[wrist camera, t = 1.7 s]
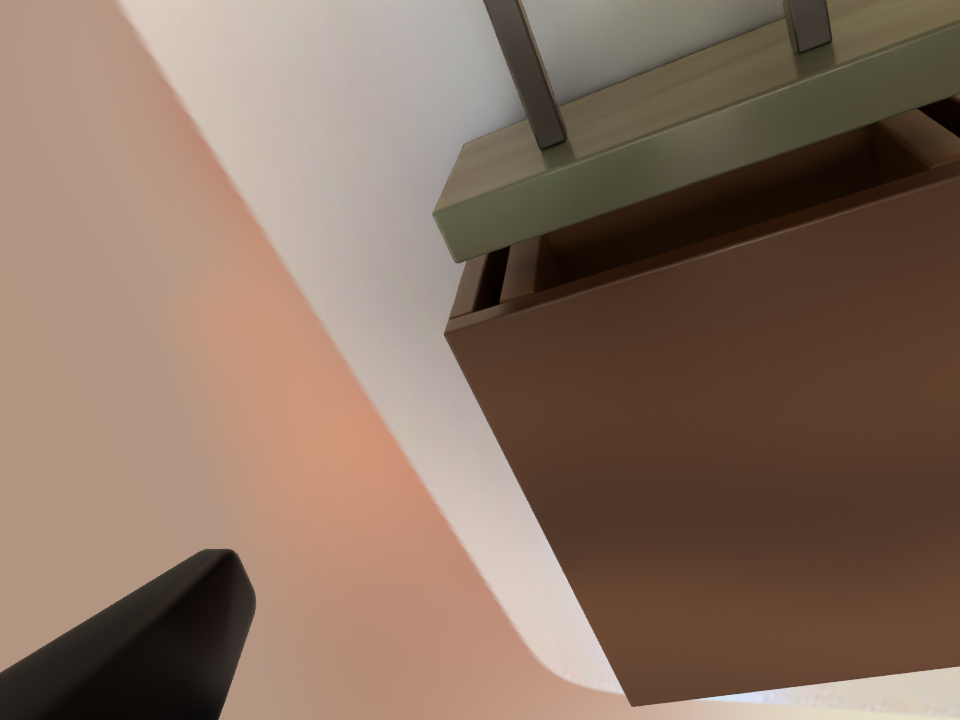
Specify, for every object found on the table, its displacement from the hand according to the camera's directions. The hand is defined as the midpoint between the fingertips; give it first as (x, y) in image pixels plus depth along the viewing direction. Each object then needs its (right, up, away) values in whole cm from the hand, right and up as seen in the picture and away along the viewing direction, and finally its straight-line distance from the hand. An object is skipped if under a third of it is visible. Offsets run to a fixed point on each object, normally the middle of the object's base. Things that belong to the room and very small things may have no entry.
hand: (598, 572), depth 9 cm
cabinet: (+6, +3, +13) cm, 15 cm away
